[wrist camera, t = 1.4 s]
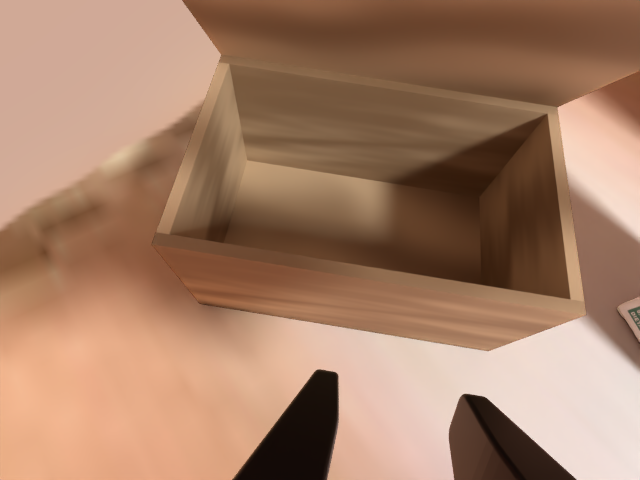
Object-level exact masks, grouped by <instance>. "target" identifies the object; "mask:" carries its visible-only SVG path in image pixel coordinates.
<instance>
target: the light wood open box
mask: <svg viewBox="0 0 640 480" xmlns="http://www.w3.org/2000/svg"><path fill="white" fill-rule="evenodd" d="M152 245H153V247H154V248H155V249H156V250H157V252H158V253H159V254H160V255H161V257H162V258H163V259H164V260H165V261H166V263H167V264H168V265H169V266H170V268H171V269H172V270H173V271H174V272H175V274H176V275H177V276H178V277H179V279H180V280H181V281H182V282H183V284H184V285H185V286H186V287H187V288H188V290H189V291H190V292H191V293H192V295H193V296H194V297H195V298H196V300H197V301H198V302H199V303H200V304H205V305H211V306H217V307H223V308H229V309H235V310H241V311H247V312H253V313H259V314H266V315H272V316H278V317H284V318H290V319H296V320H302V321H308V322H314V323H320V324H326V325H332V326H338V327H345V328H351V329H357V330H363V331H369V332H375V333H381V334H387V335H393V336H399V337H405V338H411V339H417V340H423V341H430V342H436V343H442V344H448V345H454V346H460V347H466V348H472V349H478V350H484V351H490V350H493V349H495V348H498V347H501V346H504V345H506V344H509V343H512V342H514V341H517V340H520V339H523V338H525V337H528V336H531V335H533V334H536V333H539V332H542V331H544V330H547V329H550V328H552V327H555V326H558V325H561V324H563V323H566V322H569V321H571V320H574V319H577V318H580V317H582V316H585V315H586V310H585V302H584V295H583V288H582V281H581V274H580V266H579V259H578V252H577V245H576V238H575V231H574V223H573V216H572V209H571V202H570V195H569V188H568V180H567V173H566V166H565V159H564V152H563V145H562V137H561V130H560V123H559V116H558V109H557V107H553V106H547V105H540V104H534V103H527V102H521V101H515V100H508V99H502V98H495V97H489V96H482V95H476V94H470V93H463V92H457V91H450V90H444V89H437V88H431V87H425V86H418V85H412V84H405V83H399V82H392V81H386V80H380V79H373V78H367V77H360V76H354V75H347V74H341V73H335V72H328V71H322V70H315V69H309V68H302V67H296V66H290V65H283V64H277V63H270V62H264V61H258V60H251V59H245V58H238V57H232V56H225V55H221V57H220V60H219V63H218V65H217V68H216V71H215V74H214V76H213V79H212V82H211V84H210V87H209V90H208V93H207V95H206V98H205V101H204V103H203V106H202V109H201V112H200V114H199V117H198V120H197V122H196V125H195V128H194V131H193V133H192V136H191V139H190V141H189V144H188V147H187V149H186V152H185V155H184V158H183V160H182V163H181V166H180V168H179V171H178V174H177V177H176V179H175V182H174V185H173V187H172V190H171V193H170V196H169V198H168V201H167V204H166V206H165V209H164V212H163V214H162V217H161V220H160V223H159V225H158V228H157V231H156V233H155V236H154V239H153V242H152Z"/></svg>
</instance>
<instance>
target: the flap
mask: <svg viewBox="0 0 640 480" xmlns="http://www.w3.org/2000/svg"><path fill="white" fill-rule="evenodd" d="M182 1H183V2H184V3H185V5H186V6H187V8H188V9H189V10H190V12H191V13H192V15H193V16H194V17H195V18H196V20H197V22H198V23H199V24H200V26H201V27H202V29H203V30H204V31H205V33H206V34H207V35H208V37H209V38H210V40H211V41H212V42H213V44H214V45H215V47H216V48H217V49H218V51H219V52H220V53H221V55H225V56H232V57H238V58H245V59H251V60H258V61H264V62H270V63H277V64H283V65H290V66H296V67H302V68H309V69H315V70H322V71H328V72H335V73H341V74H347V75H354V76H360V77H367V78H373V79H380V80H386V81H392V82H399V83H405V84H412V85H418V86H425V87H431V88H437V89H444V90H450V91H457V92H463V93H470V94H476V95H482V96H489V97H495V98H502V99H508V100H515V101H521V102H527V103H534V104H540V105H547V106H553V107H559V106H561V105H563V104H566V103H568V102H570V101H572V100H575V99H577V98H579V97H581V96H584V95H586V94H588V93H591V92H593V91H595V90H597V89H600V88H602V87H604V86H606V85H609V84H611V83H613V82H616V81H618V80H620V79H622V78H625V77H627V76H629V75H631V74H634V73H636V72H638V71H640V0H182Z"/></svg>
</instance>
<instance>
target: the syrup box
mask: <svg viewBox="0 0 640 480" xmlns="http://www.w3.org/2000/svg"><path fill="white" fill-rule="evenodd" d="M617 310H618V311H619V313H620V315H621V316H622V317H623V318H625V319H626V321H627V323H628V324H629V326H630V327H631V329H632V330H633V332H634V334H635V336H636V337H637V339H638V340H639V342H640V297H637V298H635V299H632V300H630V301H627V302H625V303H622V304H621V305H619V307H617Z"/></svg>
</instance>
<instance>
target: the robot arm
mask: <svg viewBox="0 0 640 480" xmlns="http://www.w3.org/2000/svg"><path fill="white" fill-rule="evenodd" d="M338 422H339V389H338V374H337V373H336V372H332V371H326V370H316V371H315V372H314V373H313V375H312V376H311V377H310V379H309V380H308V381H307V383H306V384H305V385H304V387H303V388H302V389H301V390H300V392H299V393H298V394H297V396H296V397H295V398H294V400H293V401H292V402H291V404H290V405H289V406H288V407H287V409H286V410H285V411H284V413H283V414H282V415H281V417H280V418H279V419H278V421H277V422H276V423H275V425H274V426H273V427H272V428H271V430H270V431H269V432H268V434H267V435H266V436H265V438H264V439H263V440H262V442H261V443H260V444H259V445H258V447H257V448H256V449H255V451H254V452H253V453H252V455H251V456H250V457H249V459H248V460H247V461H246V462H245V464H244V465H243V466H242V468H241V469H240V470H239V472H238V473H237V474H236V476H235V477H234V478H233V479H232V480H327V477H328V473H329V468H330V463H331V458H332V454H333V449H334V444H335V439H336V434H337V429H338ZM449 444H450V451H451V459H452V466H453V473H454V480H576V479H575V478H574V477H573V476H572V475H571V474H570V473H569V472H568V471H566V470H565V469H564V468H563V467H562V466H561V465H560V464H559V463H558V462H557V461H555V460H554V459H553V458H552V457H551V456H550V455H549V454H548V453H547V452H546V451H544V450H543V449H542V448H541V447H540V446H539V445H538V444H537V443H536V442H534V441H533V440H532V439H531V438H530V437H529V436H528V435H527V434H526V433H525V432H523V431H522V430H521V429H520V428H519V427H518V426H517V425H516V424H515V423H514V422H512V421H511V420H510V419H509V418H508V417H507V416H506V415H505V414H504V413H503V412H501V411H500V410H499V409H498V408H497V407H496V406H495V405H494V404H493V403H492V402H490V401H489V400H488V399H487V398H485V397H483V396H477V395H471V394H464V395H462V396H461V397H460V399H459V401H458V404H457V407H456V410H455V413H454V416H453V419H452V422H451V425H450V429H449Z"/></svg>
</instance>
